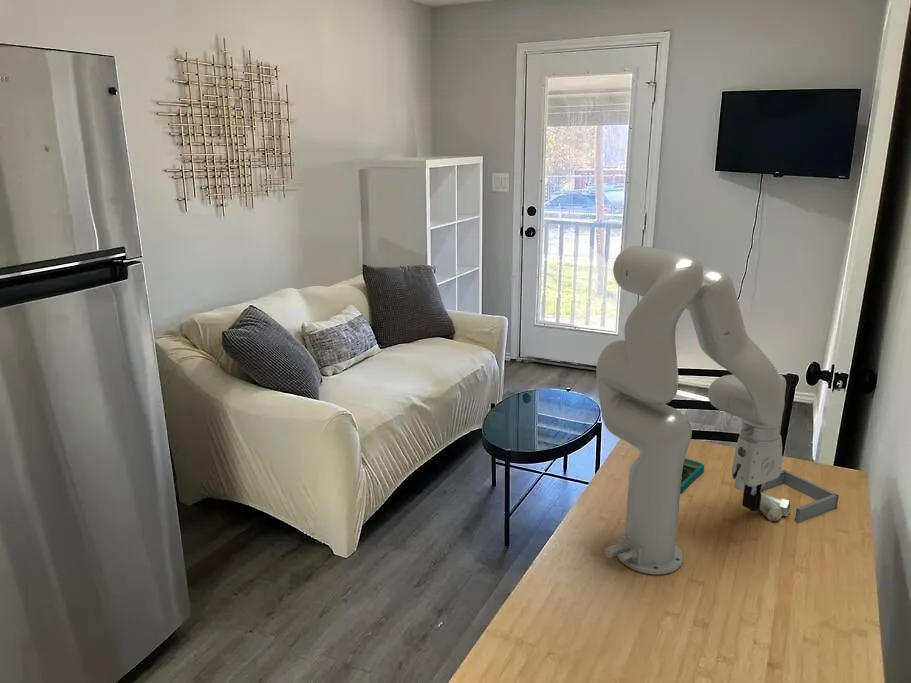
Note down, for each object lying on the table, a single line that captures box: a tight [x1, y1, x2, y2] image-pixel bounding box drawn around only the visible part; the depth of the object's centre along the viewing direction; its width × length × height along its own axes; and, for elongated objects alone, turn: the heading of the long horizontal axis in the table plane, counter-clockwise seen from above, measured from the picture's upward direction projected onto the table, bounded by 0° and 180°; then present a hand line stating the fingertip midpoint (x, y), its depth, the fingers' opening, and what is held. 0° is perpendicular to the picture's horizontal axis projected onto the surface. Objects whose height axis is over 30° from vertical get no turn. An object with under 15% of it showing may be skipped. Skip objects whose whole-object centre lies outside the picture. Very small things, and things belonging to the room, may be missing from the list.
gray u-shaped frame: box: [764, 469, 840, 523], centre depth 148 cm, size 13×14×3 cm
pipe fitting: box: [758, 492, 792, 522], centre depth 143 cm, size 8×4×7 cm
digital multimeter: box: [680, 457, 705, 495], centre depth 159 cm, size 7×15×3 cm, turn 139°
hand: (750, 507), depth 142 cm, fingers closed
